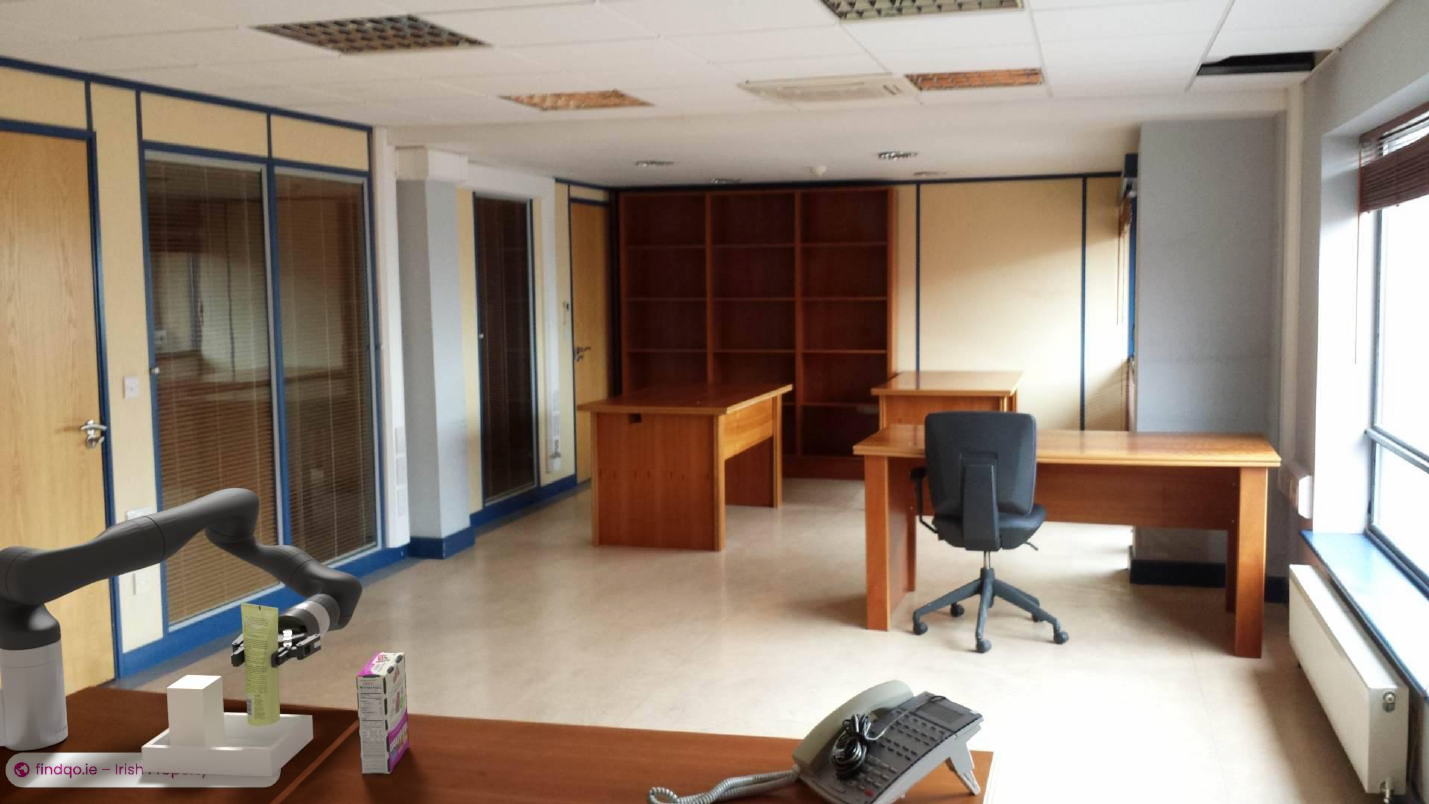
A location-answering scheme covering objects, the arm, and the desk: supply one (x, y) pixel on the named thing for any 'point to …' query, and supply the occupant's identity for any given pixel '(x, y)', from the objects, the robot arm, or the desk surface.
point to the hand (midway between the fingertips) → (253, 661)
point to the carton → (196, 711)
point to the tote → (233, 748)
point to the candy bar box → (382, 712)
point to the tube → (261, 663)
